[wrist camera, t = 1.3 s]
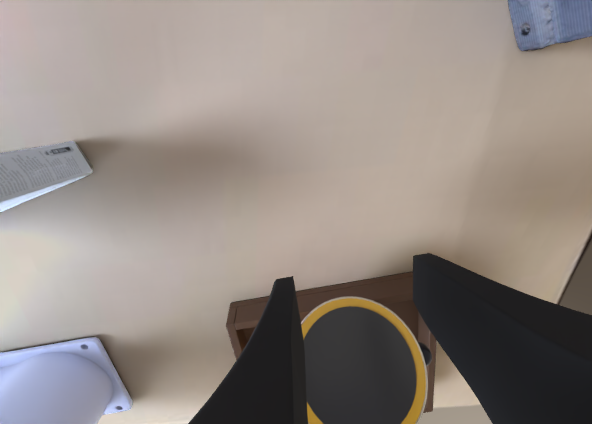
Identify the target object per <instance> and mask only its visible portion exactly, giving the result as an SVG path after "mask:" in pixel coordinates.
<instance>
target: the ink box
mask: <svg viewBox="0 0 592 424" xmlns="http://www.w3.org/2000/svg"><path fill="white" fill-rule="evenodd" d="M92 173H93V167H92V165H91V164H90V162H89V161H88V159H87V158H86V157H85V155H84V154H83V152H82V151H81V149H80V148H79V146H78V145H77V144H76V143H75V142H74V141H68V142H64V143H59V144H53V145H47V146H41V147H34V148H28V149H22V150H15V151H9V152H3V153H0V212H2V211H5V210H7V209H9V208H12V207H14V206H17V205H19V204H21V203H23V202H26V201H28V200H30V199H33V198H35V197H38V196H40V195H43V194H45V193H48V192H50V191H52V190H55V189H57V188H60V187H62V186H65V185H67V184H69V183H72V182H74V181H76V180H79V179H81V178H83V177H86V176H88V175H90V174H92Z"/></svg>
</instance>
